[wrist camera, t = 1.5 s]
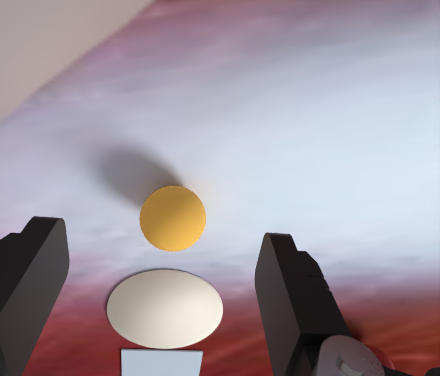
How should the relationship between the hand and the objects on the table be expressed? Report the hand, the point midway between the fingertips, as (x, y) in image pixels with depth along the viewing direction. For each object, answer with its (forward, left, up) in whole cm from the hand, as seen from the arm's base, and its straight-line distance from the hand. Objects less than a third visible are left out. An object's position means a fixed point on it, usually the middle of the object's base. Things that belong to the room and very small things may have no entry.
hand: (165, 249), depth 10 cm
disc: (+24, 0, -18) cm, 30 cm away
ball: (+9, 0, -15) cm, 18 cm away
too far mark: (+36, 0, -18) cm, 40 cm away
